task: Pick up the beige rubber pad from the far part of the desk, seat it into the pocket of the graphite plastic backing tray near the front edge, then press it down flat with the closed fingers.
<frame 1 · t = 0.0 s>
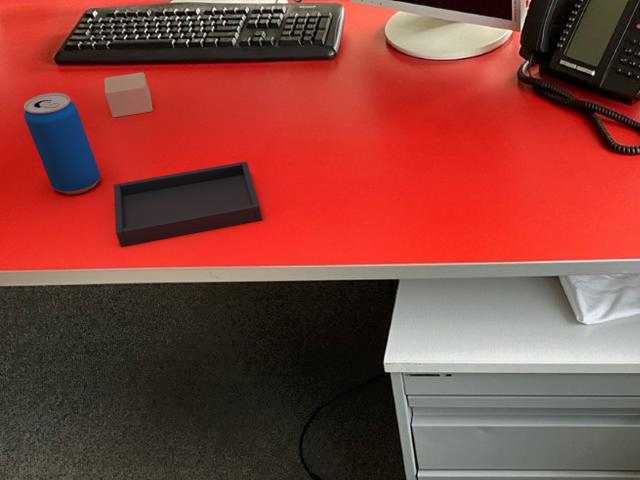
backing tray: (189, 208, 118), on the table
pad: (132, 106, 141), on the table
beverage can: (78, 186, 123), on the table
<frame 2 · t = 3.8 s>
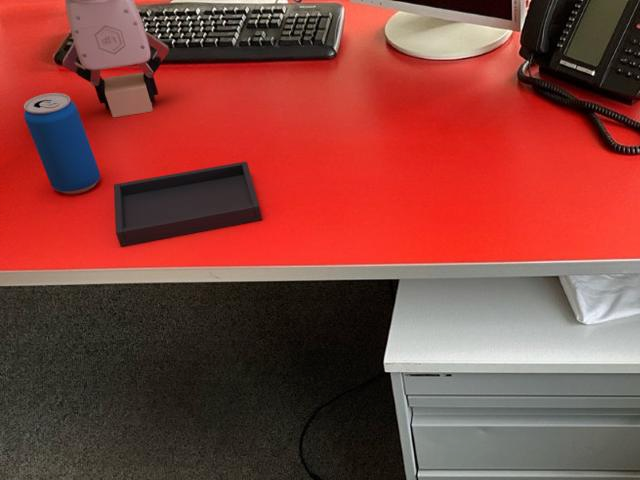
hand: (130, 101, 141), 1 cm above the table, tool pointing down, fingers closed on pad, 6 cm apart
pad: (132, 106, 141), on the table, touching gripper
everything else where it was.
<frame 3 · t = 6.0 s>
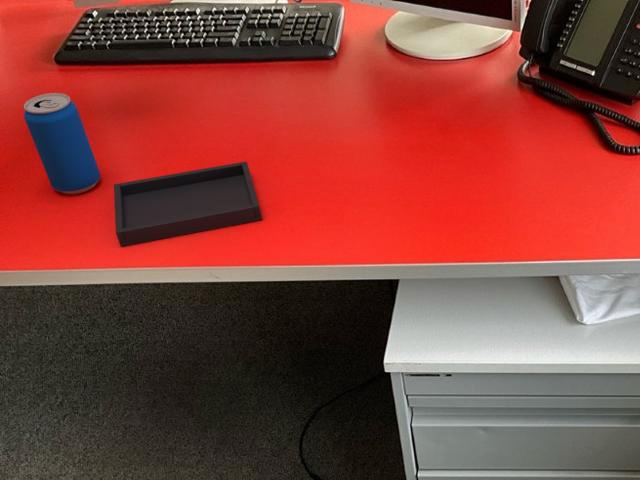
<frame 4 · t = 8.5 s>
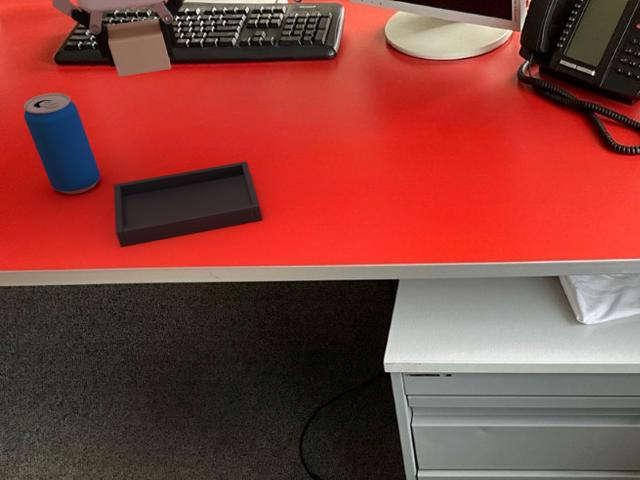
hand: (142, 57, 107), 19 cm above the table, tool pointing down, fingers closed on pad, 6 cm apart
pad: (144, 63, 108), point 18 cm above the table, touching gripper
everything else where it was.
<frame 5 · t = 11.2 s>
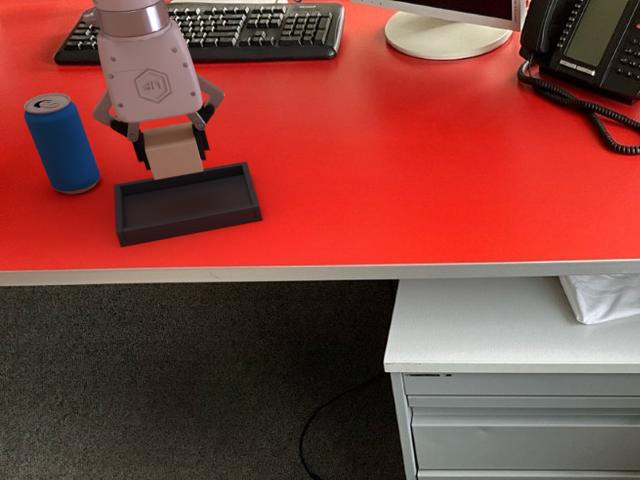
hand: (175, 159, 113), 7 cm above the table, tool pointing down, fingers closed on pad, 6 cm apart
pad: (177, 164, 114), point 6 cm above the table, touching gripper
everything else where it was.
when the fingers open (1 cm above the table, at t = 13.1 s): pad stays where it is, resting on backing tray.
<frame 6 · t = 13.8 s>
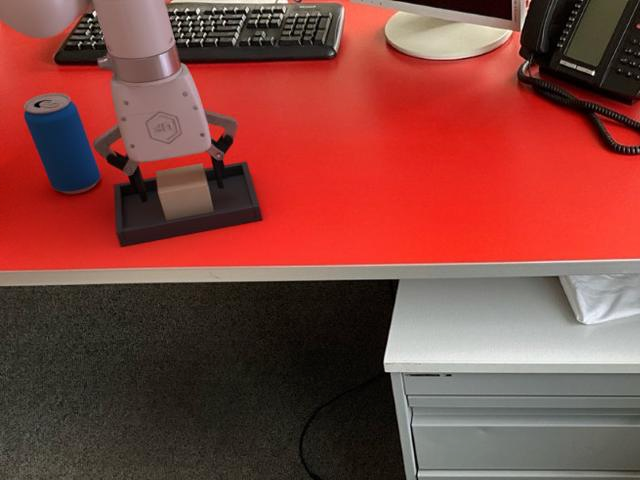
hand: (182, 190, 116), 3 cm above the table, tool pointing down, fingers open, 9 cm apart
pad: (188, 204, 118), point 1 cm above the table, touching backing tray
everything else where it was.
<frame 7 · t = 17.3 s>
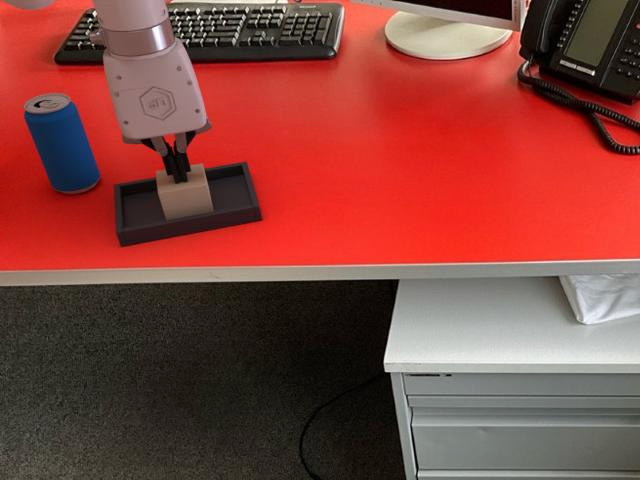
hand: (180, 177, 115), 5 cm above the table, tool pointing down, fingers closed
pad: (188, 204, 118), point 1 cm above the table, touching backing tray, gripper
everything else where it was.
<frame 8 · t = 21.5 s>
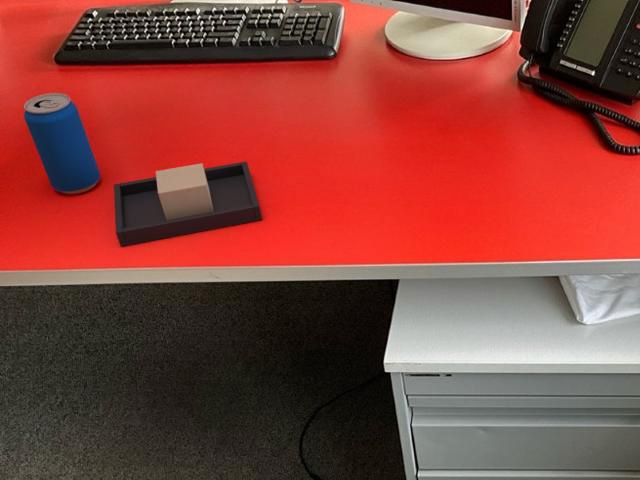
pad: (188, 204, 118), point 1 cm above the table, touching backing tray
everything else where it was.
at the end: pad inside the target area in the backing tray (0.1 cm from its centre), point 0.6 cm above the backing tray's base; pad tilted 0°; the gripper is holding nothing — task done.
